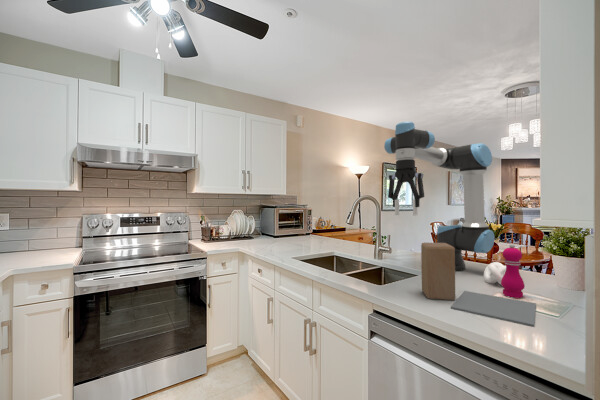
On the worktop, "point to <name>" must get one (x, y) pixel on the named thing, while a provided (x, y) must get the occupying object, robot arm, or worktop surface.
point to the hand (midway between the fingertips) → (405, 215)
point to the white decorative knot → (494, 272)
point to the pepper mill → (512, 273)
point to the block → (438, 270)
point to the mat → (496, 307)
